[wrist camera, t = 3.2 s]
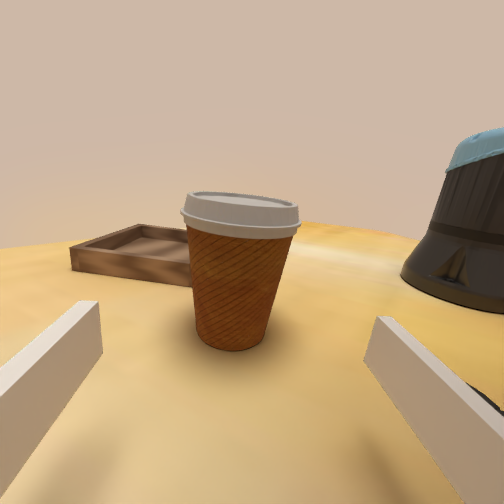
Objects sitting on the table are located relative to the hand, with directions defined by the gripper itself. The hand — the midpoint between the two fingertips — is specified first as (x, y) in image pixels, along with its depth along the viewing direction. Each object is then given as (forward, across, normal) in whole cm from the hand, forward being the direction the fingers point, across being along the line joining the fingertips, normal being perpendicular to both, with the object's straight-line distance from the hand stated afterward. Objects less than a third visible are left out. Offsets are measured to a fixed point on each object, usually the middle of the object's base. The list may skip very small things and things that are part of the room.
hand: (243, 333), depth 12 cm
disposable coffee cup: (+10, 0, -7) cm, 12 cm away
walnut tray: (+27, -11, -6) cm, 30 cm away
